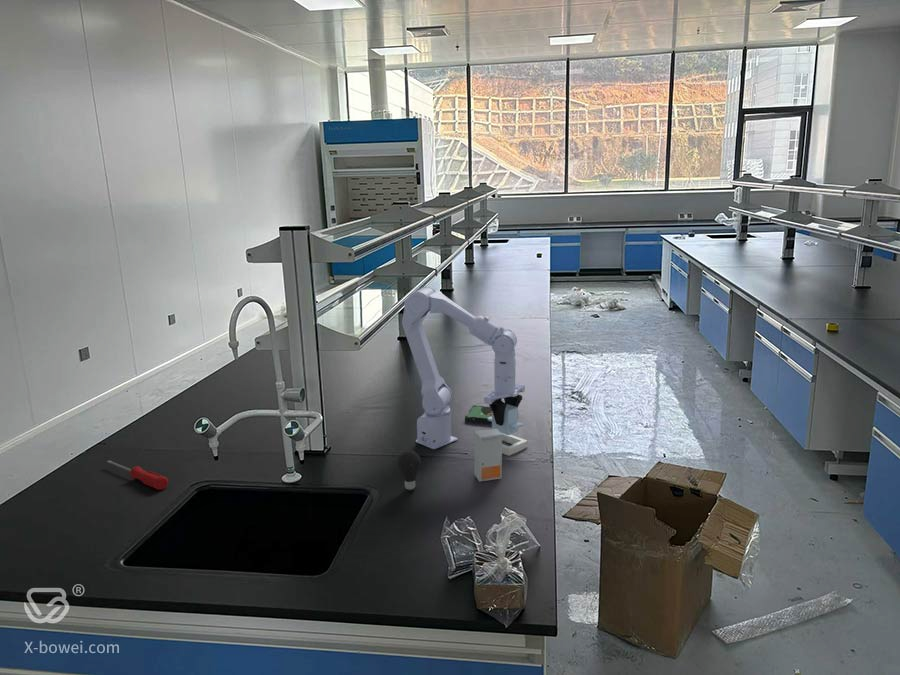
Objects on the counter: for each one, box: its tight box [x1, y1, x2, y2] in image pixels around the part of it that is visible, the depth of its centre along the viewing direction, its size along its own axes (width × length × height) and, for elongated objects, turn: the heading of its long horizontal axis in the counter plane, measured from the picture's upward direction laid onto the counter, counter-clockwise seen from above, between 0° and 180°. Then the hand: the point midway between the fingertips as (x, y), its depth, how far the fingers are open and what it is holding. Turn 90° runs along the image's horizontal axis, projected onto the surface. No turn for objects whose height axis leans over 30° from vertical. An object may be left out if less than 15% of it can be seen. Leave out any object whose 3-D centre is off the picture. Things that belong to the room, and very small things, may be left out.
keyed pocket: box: [501, 433, 528, 457], centre depth 177 cm, size 8×10×2 cm
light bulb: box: [397, 449, 422, 491], centre depth 153 cm, size 6×6×10 cm
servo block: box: [488, 404, 523, 435], centre depth 175 cm, size 4×10×8 cm, turn 44°
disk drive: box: [464, 405, 492, 426], centre depth 198 cm, size 10×3×15 cm
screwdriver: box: [107, 460, 169, 491], centre depth 163 cm, size 4×25×4 cm, turn 56°
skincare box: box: [473, 428, 503, 483], centre depth 158 cm, size 6×4×12 cm
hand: (505, 422), depth 176 cm, fingers closed on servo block, 4 cm apart
